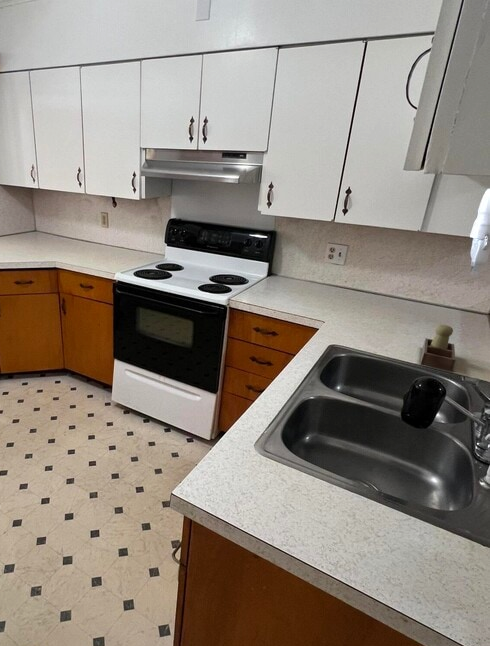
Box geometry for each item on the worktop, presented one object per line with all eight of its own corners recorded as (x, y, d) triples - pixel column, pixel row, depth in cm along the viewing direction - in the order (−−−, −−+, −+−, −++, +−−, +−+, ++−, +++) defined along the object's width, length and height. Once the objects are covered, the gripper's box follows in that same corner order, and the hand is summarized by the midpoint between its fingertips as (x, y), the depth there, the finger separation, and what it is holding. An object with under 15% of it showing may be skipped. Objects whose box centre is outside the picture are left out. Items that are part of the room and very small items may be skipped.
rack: (450, 355, 155) (454, 344, 153) (451, 372, 141) (455, 360, 139) (422, 349, 159) (425, 338, 157) (420, 365, 145) (424, 352, 143)
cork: (437, 350, 156) (446, 322, 152) (450, 357, 151) (459, 328, 147) (422, 351, 155) (431, 322, 151) (435, 358, 150) (444, 329, 146)
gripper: (500, 237, 136) (486, 280, 141) (494, 232, 152) (481, 270, 157) (477, 235, 139) (463, 276, 144) (473, 230, 155) (461, 267, 160)
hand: (473, 273), depth 151 cm, fingers open, 8 cm apart
